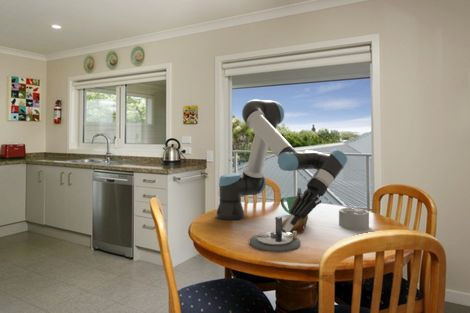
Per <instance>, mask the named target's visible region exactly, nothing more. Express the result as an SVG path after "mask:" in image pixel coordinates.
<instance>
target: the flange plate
mask: <svg viewBox="0 0 470 313" xmlns="http://www.w3.org/2000/svg"><path fill="white" fill-rule="evenodd" d="M282 223H283V217H281V216H275V231H266V232H264V231H263V232H261V233H259V234H256V235H257V241H258V242H260V243H262V244H265V245H273V246H280V245H287V244H290V243H291V242H292V241H293V238H292V236H293V233H290V232H289V233H285V232H283V231H282Z"/></svg>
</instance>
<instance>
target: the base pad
mask: <svg viewBox="0 0 470 313" xmlns="http://www.w3.org/2000/svg"><path fill="white" fill-rule="evenodd" d="M297 234H298V233H297V231H293V236H292V238H293V241H292V242H291V243H290V244H287V245H280V246H273V245H265V244H262V243H260V242H258V241H257V235H258V234H256V235H253V236H251V237H250V238H249V245H250V246H251V247H252V248H253V249H257V250H259V251H263V252H271V253H272V252H273V253H280V252H281V253H283V251H285V252H291V251H294V250H297V249H298V248H300V247H301V240H300V239H299V238H298V236H297ZM290 250H291V251H290Z"/></svg>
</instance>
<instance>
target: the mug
mask: <svg viewBox="0 0 470 313" xmlns="http://www.w3.org/2000/svg"><path fill="white" fill-rule="evenodd" d="M294 199H295V196H287V197H285V196H283V197H282V198H280V206H281V207H282V209H283V210H284V211H285V213H287V214H289V215H290V216H291V213H290V210H291V209H292V203H293V200H294ZM284 200H285V201H286V204H287V206H286V205H285V203H284V202H285V201H284Z"/></svg>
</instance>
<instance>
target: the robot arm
mask: <svg viewBox="0 0 470 313" xmlns="http://www.w3.org/2000/svg"><path fill="white" fill-rule="evenodd" d="M241 117H242V119H243V121H244V123H245V124H246V126H247V127H248V128H250V129H253V130H254V131H255V132H254V136H253V141H252V145H251V150H250V153H249V158H248V161H247V167H245V168H244V169H243V171H242V174H241V173H240V172H229V173H224V174H222V175H220V177H219V181H218V186H219V192H218V193H219V205H218V207H217V211H216V218H217V219H220V220H224V221H232V220H233V221H236V220H240V219H243V218H245V211H244V207H243V204H242V197H246V196H256V195H259V194H261V193H263V192H264V190H265V189H266V186H267V185H266V184H267V182H266V177H265V174H264V173H263V168H264V164H265V161H266V157H267V154H268V149H270V150H271V151H272V152H273V154H274V155H275V156H276V157H277V164H278V167H279V168H280V170H282V171H284V172H285V171H288V172H293V171H301V170H303V171H304V170H315V173H314V174H313V176H312V177H311V178H310V179H309V181H308V183H307V184H306V187H307V188H306V189H305V191H303V192H302V194H300V193H299V194H298V197H297V199H296V201H295V203H294V205H293V207H292V209H291V210H290V213H291V214H292V215H290V216H289V217H290V218H289V217H288V218H289V219H288V221H287V222H286V224H285V225H284V227H283V229H284V230H285V231H286V232H287V233H289V232H290V230H291V229H292V228H293V226H294V225H295V224H296V222H297V221H298V220H299V219H301V218H302V219H304V218H305V217H306V216H307V215H308V216H309V214H311V212H312V211H313V210H314V209H315V208H316V207H317V206H318V205H320V204H321V203H322V199H320V197H324V195H325V194H326V192H327V191H328V189H329V188H330V186H331V185H332V184H333V183H334V182H335V179H336V178H337V176H338V175H339V174H340V173H341V171H342V170H343V169H344V168H345V166H346V164H347V163H348V157H347V154H345V152H342V151H341V150H339V149H332V150H331V151H330V152H329V154H328V153H323V152H319V151H315V150H312V149H311V150H310V149H305V150H304V151H297V150H296V149H295V148H294V147H293V146H292V145H291V144H290V143H289V142H288V141H287V139H285V137H284V136H282V134H281V133H280V132H279V131H278V129H277V126H278V125H280V124H281V123H282V122H283V121H284V118H285V110H284V107H283V105H282V104H281V103H280V102H278V101H275V100H265V99H264V100H263V99H251V100H249V101H247V102H246V103H245V105H244V106H243V108H242V111H241Z"/></svg>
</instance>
